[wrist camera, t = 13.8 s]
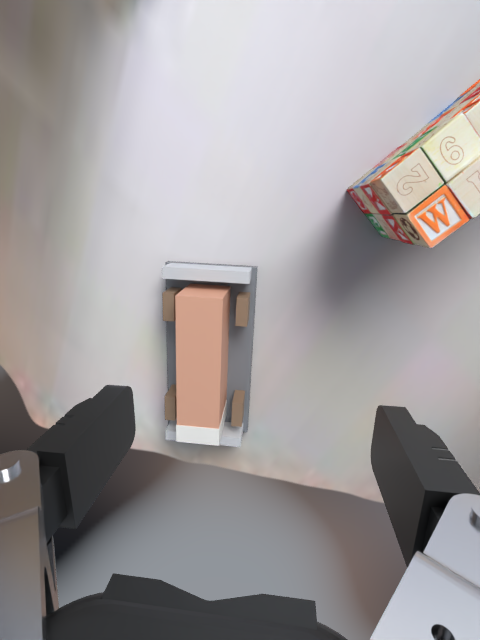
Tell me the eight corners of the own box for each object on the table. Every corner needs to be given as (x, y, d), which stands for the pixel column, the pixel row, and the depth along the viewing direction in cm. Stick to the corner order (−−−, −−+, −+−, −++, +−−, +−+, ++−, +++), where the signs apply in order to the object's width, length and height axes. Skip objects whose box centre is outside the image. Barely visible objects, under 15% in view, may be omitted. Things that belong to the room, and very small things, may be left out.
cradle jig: (257, 266, 38) (255, 272, 34) (247, 427, 44) (245, 447, 40) (168, 261, 39) (156, 266, 35) (170, 420, 45) (161, 439, 41)
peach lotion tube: (231, 286, 38) (223, 299, 32) (226, 414, 43) (218, 445, 37) (189, 283, 38) (174, 295, 33) (189, 410, 43) (176, 441, 37)
